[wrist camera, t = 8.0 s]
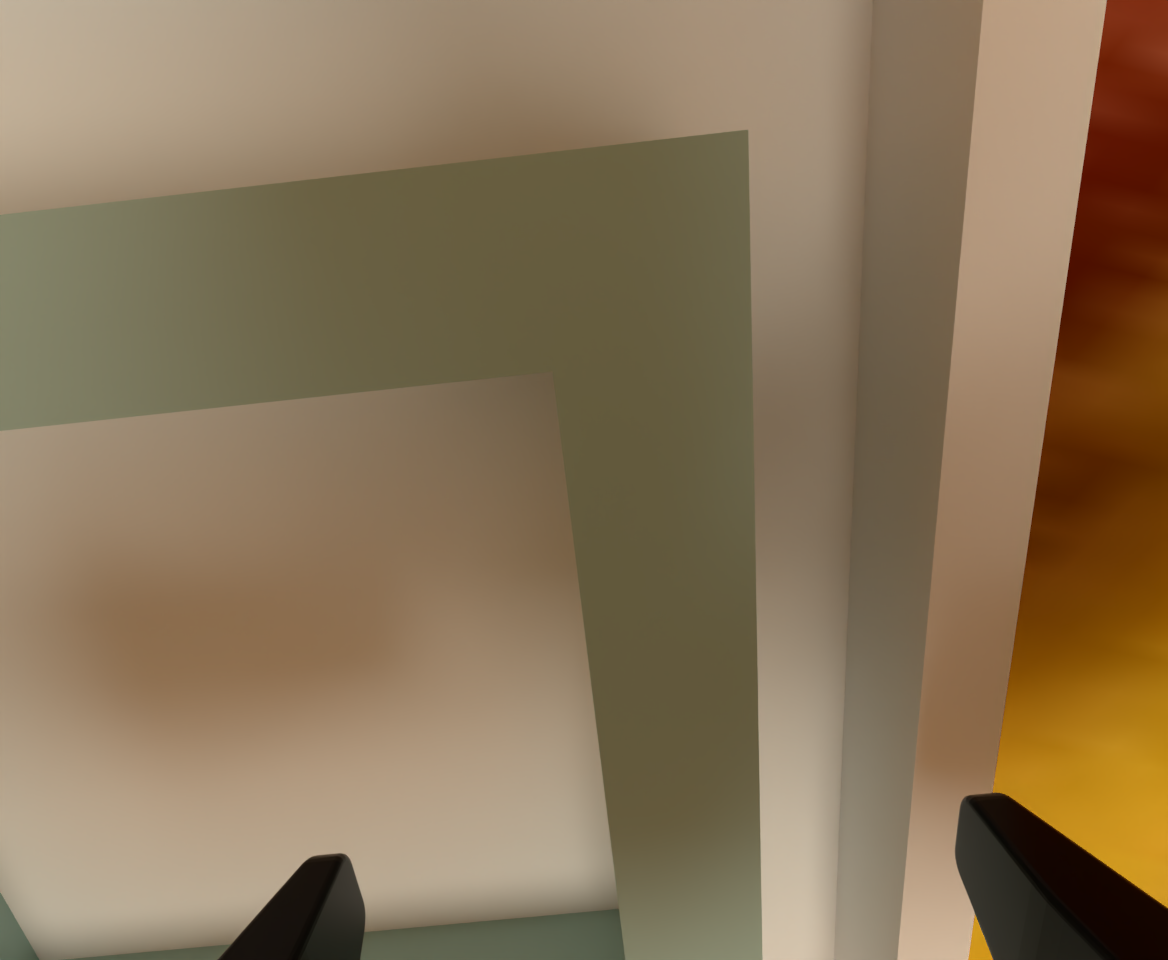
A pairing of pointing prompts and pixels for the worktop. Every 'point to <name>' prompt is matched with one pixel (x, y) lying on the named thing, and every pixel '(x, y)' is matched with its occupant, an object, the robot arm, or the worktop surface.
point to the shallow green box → (471, 352)
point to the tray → (533, 471)
